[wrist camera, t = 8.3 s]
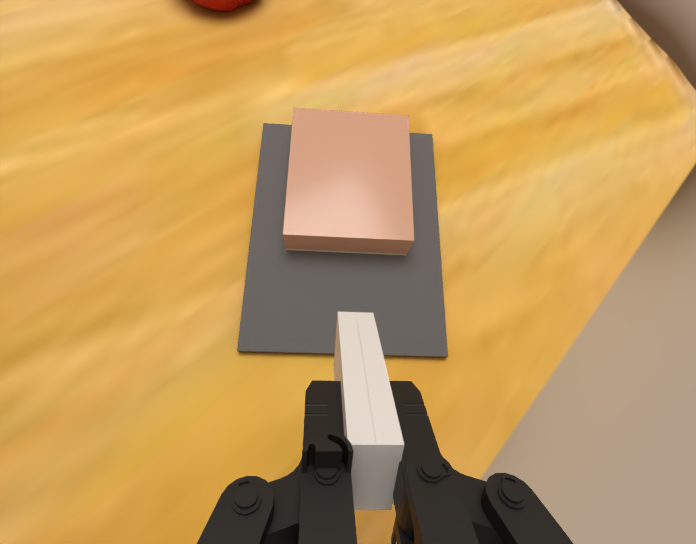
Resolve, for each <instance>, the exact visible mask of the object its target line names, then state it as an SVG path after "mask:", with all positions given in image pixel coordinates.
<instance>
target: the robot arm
mask: <svg viewBox="0 0 696 544" xmlns="http://www.w3.org/2000/svg"><path fill="white" fill-rule="evenodd" d="M334 379H335V381H312V382H311V383H310V385H309V387H308V388H307V390H306V397H305V417H304V438H303V451H302V459H301V461H300V463H299V465H298V466H297V468H296V469H295V470H294V471H293V472H291V473H290V474H289V475H287V476H285V477H283V478H281V479H278V480H275V481H272V482H269V483H268V482H267V481H266V480H264V479H262V478H260V477H257V476H246V477H242V478H239V479H237V480H235V481H234V482H232V483H231V484H230V485H228V486H227V488H226V489H225V490H224V492H223V493H222V494H221V496H220V498H219V500H218V502H217V504H216V506H215V508H214V510H213V512H212V514H211V516H210V518H209V520H208V522H207V524H206V526H205V528H204V530H203V532H202V534H201V536H200V538H199V540H198V542H197V544H357V538H356V526H355V514H354V510H391V509H392V504H393V499H394V504H395V510H396V519H395V523H394V528H393V533H392V537H391V544H396V542H397V544H573V543H572V541H571V540H570V539H569V537H568V536H567V535H566V533H565V532H564V531H563V530H562V528H561V527H560V526H559V524H558V523H557V522H556V521H555V519H554V518H553V517H552V515H551V514H550V513H549V511H548V510H547V509H546V507H545V506H544V505H543V504H542V502H541V501H540V500H539V498H538V497H537V496H536V494H535V493H534V492H533V491H532V489H531V488H529V486H528V485H527V484H526V483H525V482H524V481H522V480H520V479H519V478H517V477H515V476H513V475H510V474H506V473H495V474H494V475H492V476H490V477H489V478H488V480H487V482H486V481H483V480H479V479H476V478H472V477H469V476H466V475H464V474H461V473H459V472H457V471H456V470H454V469H453V468H452V467H451V465H450V463H449V462H448V461H446V460H445V459H444V458H443V457H442V455H441V453H440V451H439V448H438V445H437V442H436V439H435V436H434V433H433V430H432V426H431V423H430V420H429V417H428V416H427V411H426V408H425V406H424V402H423V399H422V396H421V393H420V391H419V390H418V389H417V387H416V386H415V385H414V384H413V383H412V382H411V381H389V377H388V373H387V369H386V365H385V360H384V356H383V352H382V347H381V343H380V339H379V335H378V330H377V326H376V322H375V318H374V313H366V312H338V315H337V328H336V341H335V354H334Z"/></svg>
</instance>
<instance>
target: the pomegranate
mask: <svg viewBox="0 0 696 544" xmlns="http://www.w3.org/2000/svg"><path fill="white" fill-rule="evenodd" d="M193 1H194V2H195V3H197V4H198V5H200V6H202V7H205V8H209V9H212V10H216V11H231V10H233V9H235V8H237V7H238V6H239V5H242V4H245V3H249V2H251V1H253V0H193Z"/></svg>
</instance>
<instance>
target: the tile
mask: <svg viewBox="0 0 696 544" xmlns="http://www.w3.org/2000/svg"><path fill="white" fill-rule="evenodd" d="M283 237H284V242H285V247H286V250H296V251H318V252H341V253H363V254H385V255H406V254H407V252H408V251H409V249H410V247H411V245H412V244H413V242H414V224H413V202H412V180H411V159H410V137H409V116H408V115H394V114H379V113H365V112H350V111H336V110H321V109H307V108H293V120H292V132H291V144H290V156H289V168H288V179H287V191H286V203H285V215H284V227H283Z"/></svg>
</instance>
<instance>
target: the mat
mask: <svg viewBox="0 0 696 544" xmlns="http://www.w3.org/2000/svg"><path fill="white" fill-rule="evenodd" d="M291 132H292V125H283V124H268V123H264V124H263V133H262V141H261V150H260V159H259V167H258V176H257V185H256V193H255V202H254V211H253V219H252V228H251V237H250V245H249V254H248V263H247V271H246V280H245V289H244V297H243V306H242V315H241V323H240V332H239V341H238V349H237V351H239V352H267V353H303V354H335V341H336V328H337V315H338V312H366V313H374V318H375V322H376V326H377V330H378V335H379V339H380V343H381V347H382V352H383V356H410V357H448V353H447V339H446V324H445V310H444V296H443V282H442V268H441V253H440V239H439V225H438V211H437V197H436V182H435V168H434V154H433V140H432V134H419V133H409V137H410V159H411V180H412V202H413V224H414V242H413V244H412V245H411V247H410V249H409V251H408V252H407V254H406V255H385V254H363V253H341V252H318V251H296V250H286V247H285V242H284V237H283V227H284V215H285V203H286V191H287V179H288V168H289V156H290V144H291Z"/></svg>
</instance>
